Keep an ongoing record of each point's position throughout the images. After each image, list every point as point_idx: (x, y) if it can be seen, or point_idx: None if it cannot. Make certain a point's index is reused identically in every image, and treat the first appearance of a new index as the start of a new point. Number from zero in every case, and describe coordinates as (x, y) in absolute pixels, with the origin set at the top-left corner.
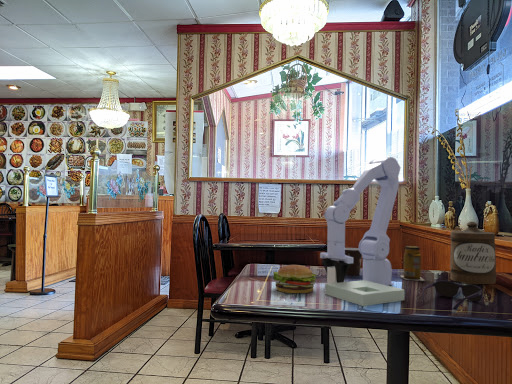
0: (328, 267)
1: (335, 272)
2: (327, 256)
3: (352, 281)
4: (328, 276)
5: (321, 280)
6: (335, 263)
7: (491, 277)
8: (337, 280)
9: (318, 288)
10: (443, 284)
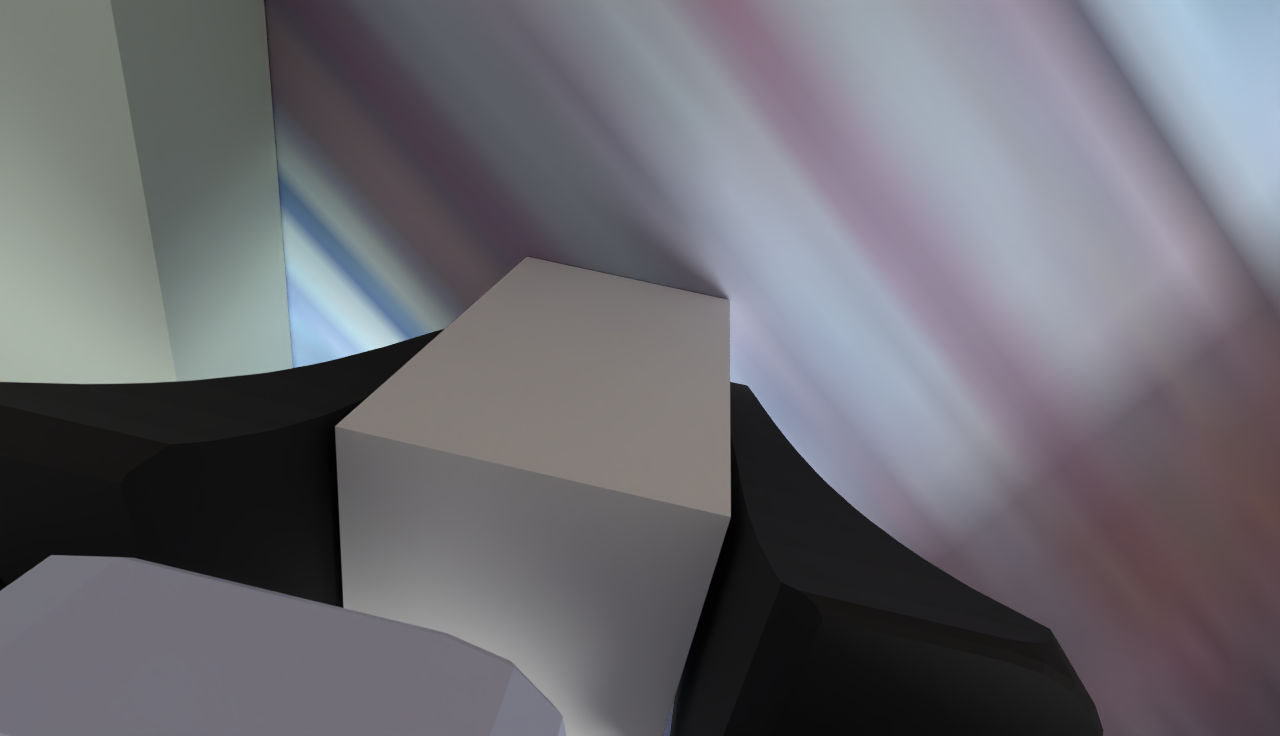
0: (667, 493)
1: (397, 383)
2: (51, 640)
3: None
4: (685, 368)
5: (1095, 604)
6: (20, 429)
7: None
8: None
9: (714, 11)
10: None
